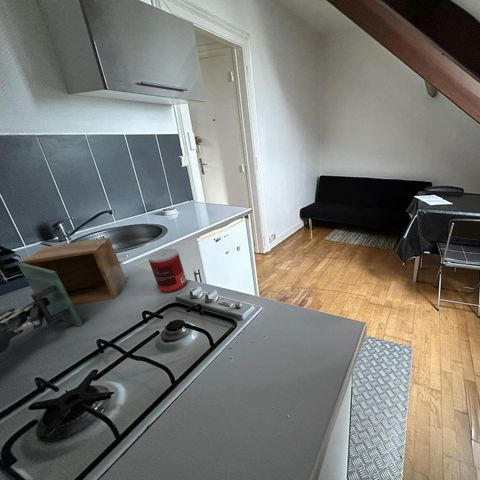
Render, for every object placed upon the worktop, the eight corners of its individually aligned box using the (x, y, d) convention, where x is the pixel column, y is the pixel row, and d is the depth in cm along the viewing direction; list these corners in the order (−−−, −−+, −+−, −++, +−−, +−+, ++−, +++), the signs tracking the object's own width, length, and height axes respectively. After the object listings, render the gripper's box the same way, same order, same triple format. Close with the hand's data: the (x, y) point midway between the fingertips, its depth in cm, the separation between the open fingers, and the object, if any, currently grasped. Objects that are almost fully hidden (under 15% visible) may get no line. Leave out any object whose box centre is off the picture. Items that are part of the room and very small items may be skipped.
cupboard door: (59, 338, 61) (27, 282, 55) (26, 324, 67) (-7, 272, 61) (83, 324, 65) (55, 271, 59) (49, 312, 71) (21, 262, 65)
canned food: (182, 277, 85) (172, 246, 81) (191, 285, 80) (181, 253, 76) (156, 286, 80) (144, 254, 76) (163, 296, 75) (152, 263, 71)
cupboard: (116, 298, 76) (95, 249, 70) (49, 312, 71) (21, 261, 65) (127, 281, 84) (109, 237, 78) (68, 293, 80) (44, 247, 74)
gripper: (-13, 336, 47) (66, 284, 63) (-91, 344, 46) (9, 289, 62) (9, 367, 50) (79, 310, 66) (-65, 374, 49) (24, 315, 65)
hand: (45, 300), depth 64 cm, fingers closed
